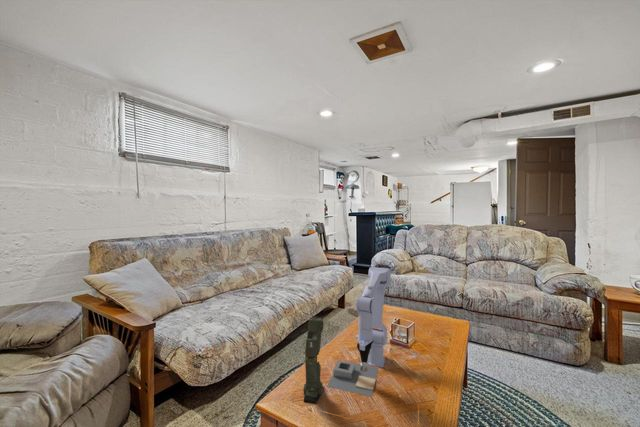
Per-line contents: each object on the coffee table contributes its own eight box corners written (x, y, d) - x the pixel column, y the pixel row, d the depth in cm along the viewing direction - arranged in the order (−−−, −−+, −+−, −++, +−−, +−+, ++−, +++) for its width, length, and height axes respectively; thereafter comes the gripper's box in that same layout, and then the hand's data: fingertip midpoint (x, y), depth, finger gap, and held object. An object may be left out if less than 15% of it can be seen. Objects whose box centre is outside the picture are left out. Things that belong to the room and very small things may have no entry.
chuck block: (338, 366, 124) (338, 359, 124) (355, 369, 122) (355, 363, 122) (333, 376, 117) (333, 369, 117) (351, 380, 114) (351, 373, 114)
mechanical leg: (317, 410, 97) (321, 320, 103) (297, 407, 98) (303, 318, 104) (324, 394, 110) (327, 315, 116) (306, 391, 111) (311, 314, 118)
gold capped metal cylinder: (361, 366, 115) (361, 347, 114) (369, 368, 113) (369, 349, 113) (359, 370, 112) (359, 351, 111) (367, 372, 110) (367, 353, 110)
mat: (339, 361, 129) (339, 360, 129) (378, 368, 123) (378, 367, 123) (327, 387, 110) (327, 386, 110) (371, 397, 104) (371, 396, 104)
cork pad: (359, 376, 117) (359, 375, 117) (375, 380, 114) (375, 378, 114) (355, 386, 110) (355, 385, 110) (373, 390, 108) (373, 389, 108)
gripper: (359, 318, 120) (359, 348, 120) (351, 332, 106) (351, 366, 107) (375, 320, 118) (375, 351, 118) (370, 335, 104) (369, 370, 104)
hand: (365, 359), depth 112 cm, fingers closed on gold capped metal cylinder, 3 cm apart
